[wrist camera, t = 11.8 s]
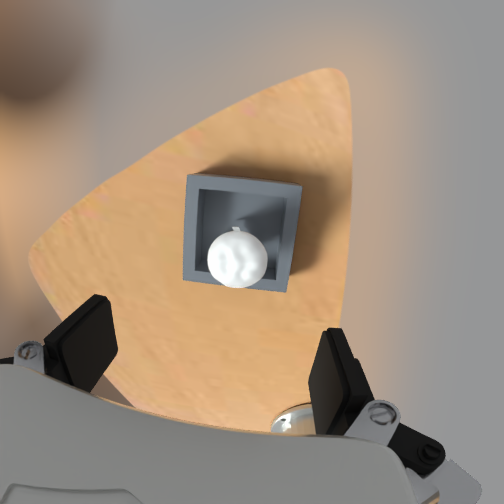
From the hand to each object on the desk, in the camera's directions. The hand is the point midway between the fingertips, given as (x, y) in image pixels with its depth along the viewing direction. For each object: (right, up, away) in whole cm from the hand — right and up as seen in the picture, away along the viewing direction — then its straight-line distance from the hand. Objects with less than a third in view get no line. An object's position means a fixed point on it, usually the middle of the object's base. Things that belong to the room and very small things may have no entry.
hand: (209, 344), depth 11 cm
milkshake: (+1, +6, +18) cm, 19 cm away
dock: (+1, +6, +18) cm, 19 cm away
